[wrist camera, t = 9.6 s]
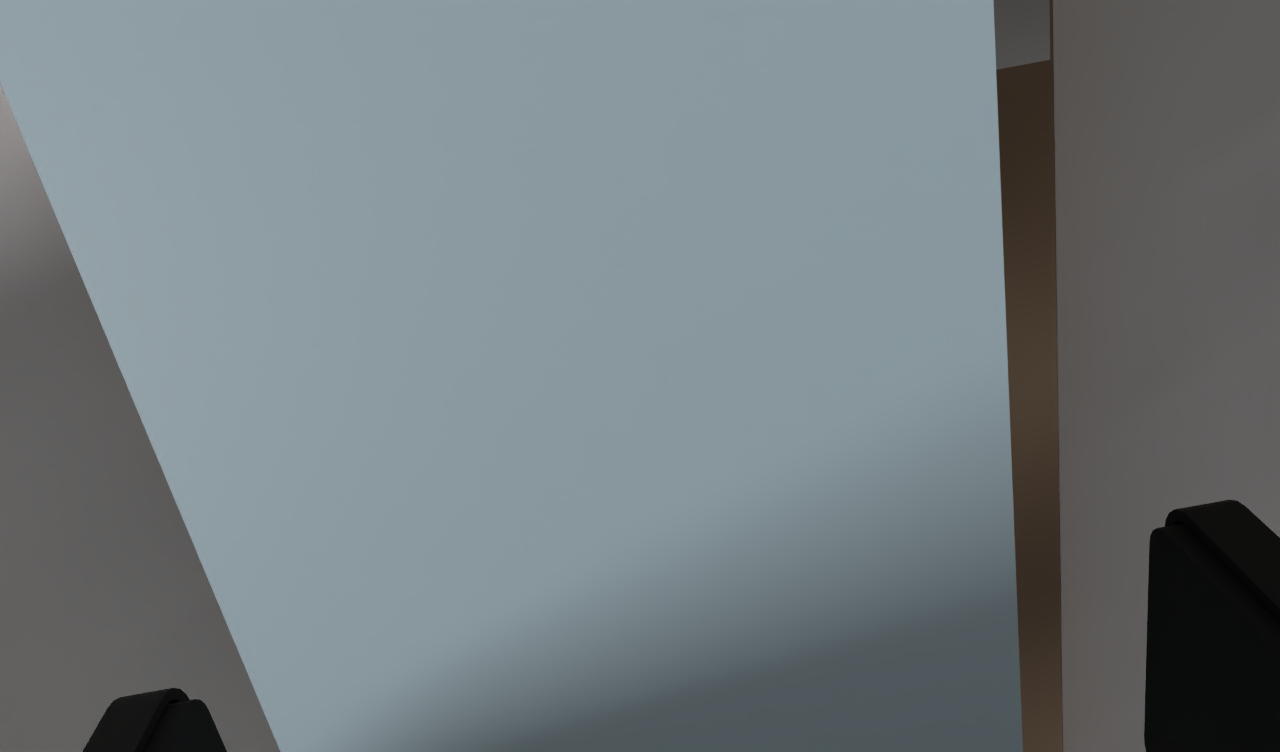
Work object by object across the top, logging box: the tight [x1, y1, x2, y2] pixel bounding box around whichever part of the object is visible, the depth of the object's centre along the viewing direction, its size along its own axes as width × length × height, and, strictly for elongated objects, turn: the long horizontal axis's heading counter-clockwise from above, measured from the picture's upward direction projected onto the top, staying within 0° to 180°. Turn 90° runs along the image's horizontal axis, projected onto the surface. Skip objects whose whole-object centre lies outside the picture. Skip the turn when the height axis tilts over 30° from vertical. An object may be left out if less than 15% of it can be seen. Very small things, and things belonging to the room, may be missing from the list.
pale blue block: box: [0, 0, 1023, 752], centre depth 10 cm, size 17×4×7 cm, turn 10°
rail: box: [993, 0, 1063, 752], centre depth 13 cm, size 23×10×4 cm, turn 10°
